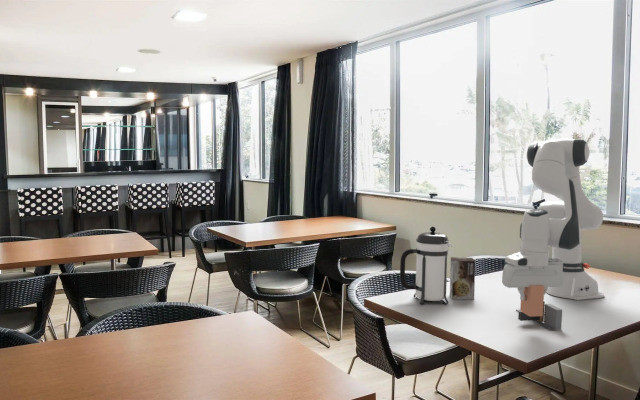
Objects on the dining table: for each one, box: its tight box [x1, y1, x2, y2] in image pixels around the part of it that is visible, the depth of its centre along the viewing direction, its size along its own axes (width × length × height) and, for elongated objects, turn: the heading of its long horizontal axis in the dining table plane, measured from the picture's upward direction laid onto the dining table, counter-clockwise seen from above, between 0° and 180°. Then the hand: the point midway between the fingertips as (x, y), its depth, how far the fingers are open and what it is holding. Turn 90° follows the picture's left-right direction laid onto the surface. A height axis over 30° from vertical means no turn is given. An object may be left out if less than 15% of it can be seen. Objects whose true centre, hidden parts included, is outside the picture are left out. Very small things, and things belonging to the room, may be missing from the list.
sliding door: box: [517, 300, 546, 323], centre depth 185 cm, size 9×9×7 cm
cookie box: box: [449, 256, 476, 300], centre depth 214 cm, size 9×6×16 cm
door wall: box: [515, 303, 563, 331], centre depth 186 cm, size 4×22×7 cm, turn 9°
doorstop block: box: [519, 285, 545, 317], centre depth 173 cm, size 4×6×10 cm
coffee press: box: [399, 226, 452, 306], centre depth 207 cm, size 17×16×30 cm
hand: (531, 299), depth 173 cm, fingers closed on doorstop block, 4 cm apart
